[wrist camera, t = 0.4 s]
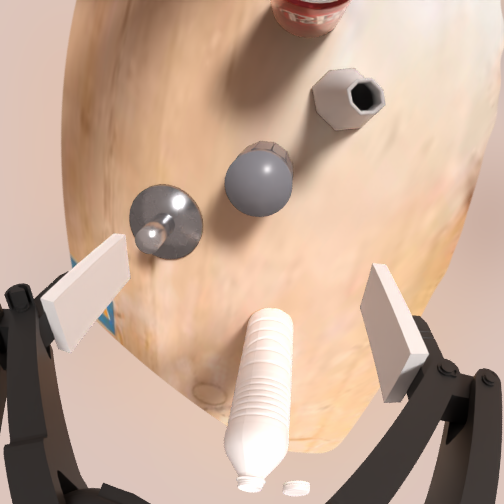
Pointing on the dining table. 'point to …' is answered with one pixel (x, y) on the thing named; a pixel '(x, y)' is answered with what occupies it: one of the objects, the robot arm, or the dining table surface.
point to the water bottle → (262, 402)
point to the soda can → (309, 15)
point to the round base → (166, 222)
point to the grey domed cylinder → (260, 179)
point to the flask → (347, 98)
